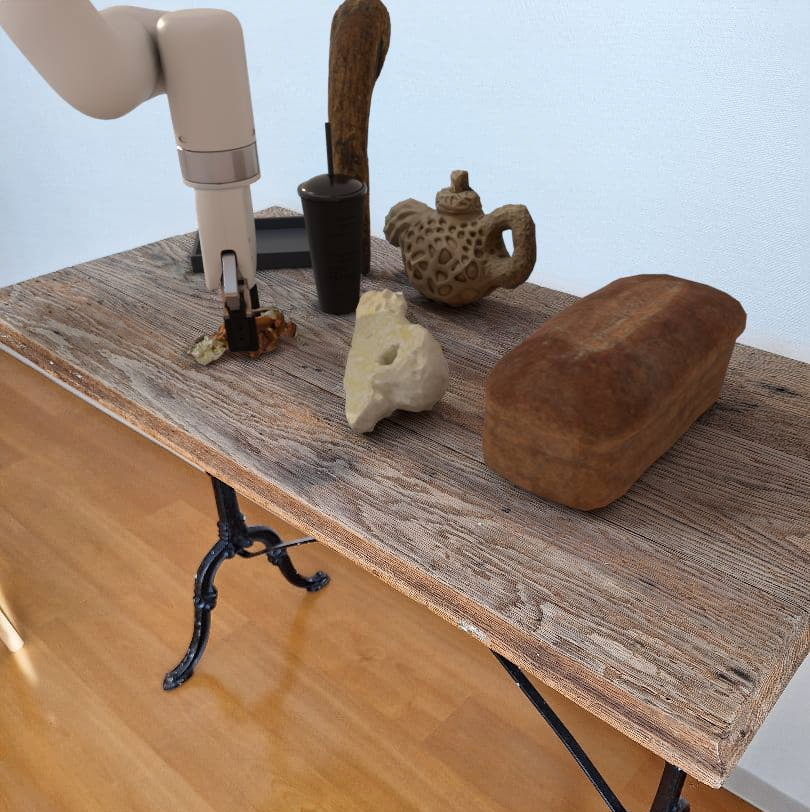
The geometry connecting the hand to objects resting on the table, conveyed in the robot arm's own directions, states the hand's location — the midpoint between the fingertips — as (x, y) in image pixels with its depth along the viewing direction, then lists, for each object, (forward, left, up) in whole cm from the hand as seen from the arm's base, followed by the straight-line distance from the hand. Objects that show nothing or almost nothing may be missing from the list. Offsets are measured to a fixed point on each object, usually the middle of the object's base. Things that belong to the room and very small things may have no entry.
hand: (245, 333), depth 89 cm
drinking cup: (+11, +9, -1) cm, 14 cm away
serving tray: (+1, +29, -1) cm, 29 cm away
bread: (+34, -23, -1) cm, 41 cm away
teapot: (+25, +8, -1) cm, 26 cm away
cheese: (+14, -13, -1) cm, 19 cm away
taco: (0, -1, -1) cm, 2 cm away
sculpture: (+15, +19, -1) cm, 24 cm away
